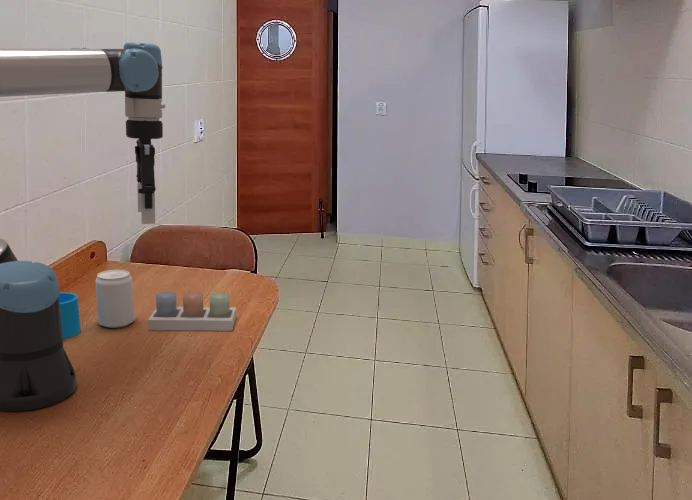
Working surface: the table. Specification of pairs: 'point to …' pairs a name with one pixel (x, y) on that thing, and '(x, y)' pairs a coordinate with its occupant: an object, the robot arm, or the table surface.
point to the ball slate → (166, 302)
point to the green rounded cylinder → (219, 303)
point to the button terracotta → (193, 303)
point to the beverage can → (114, 298)
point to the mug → (69, 314)
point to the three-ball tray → (193, 320)
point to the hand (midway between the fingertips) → (146, 217)
